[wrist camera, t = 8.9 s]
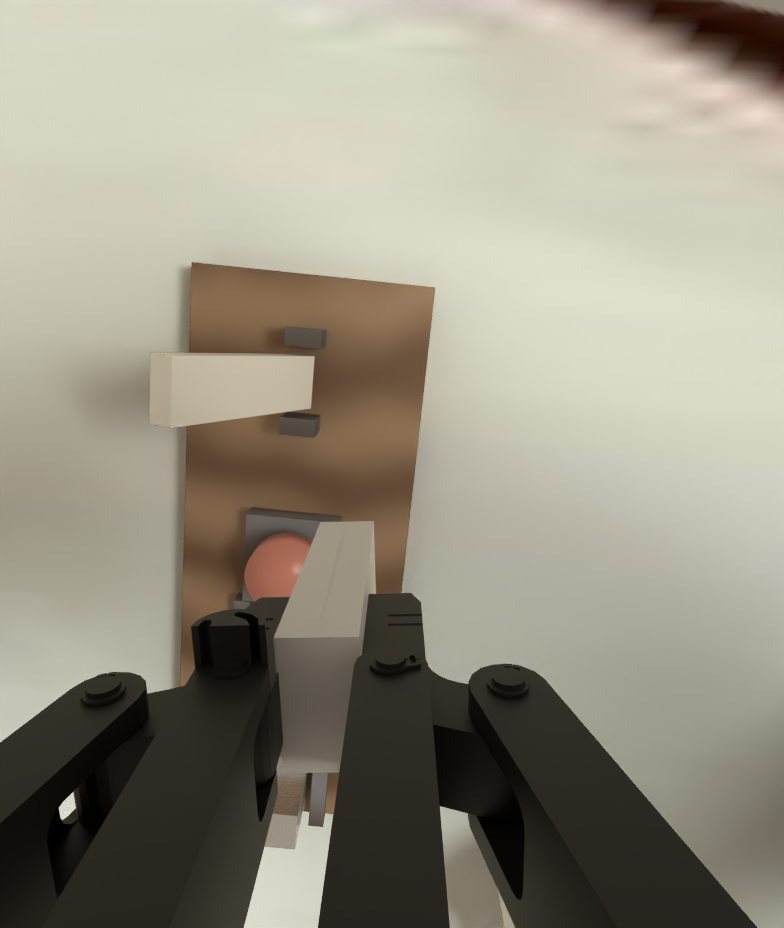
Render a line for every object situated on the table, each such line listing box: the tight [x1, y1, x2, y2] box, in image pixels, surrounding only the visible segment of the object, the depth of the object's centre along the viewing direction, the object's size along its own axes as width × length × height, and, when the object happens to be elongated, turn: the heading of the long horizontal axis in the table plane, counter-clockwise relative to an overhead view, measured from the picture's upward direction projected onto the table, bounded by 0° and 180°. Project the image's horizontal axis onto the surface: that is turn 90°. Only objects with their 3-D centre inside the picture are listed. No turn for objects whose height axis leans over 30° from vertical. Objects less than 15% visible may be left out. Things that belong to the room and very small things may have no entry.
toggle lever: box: [149, 352, 315, 428], centre depth 30 cm, size 3×1×11 cm, turn 174°
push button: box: [244, 532, 312, 601], centre depth 35 cm, size 4×4×2 cm
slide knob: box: [265, 751, 308, 849], centre depth 39 cm, size 4×4×5 cm
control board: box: [180, 262, 435, 827], centre depth 39 cm, size 36×14×4 cm, turn 174°
